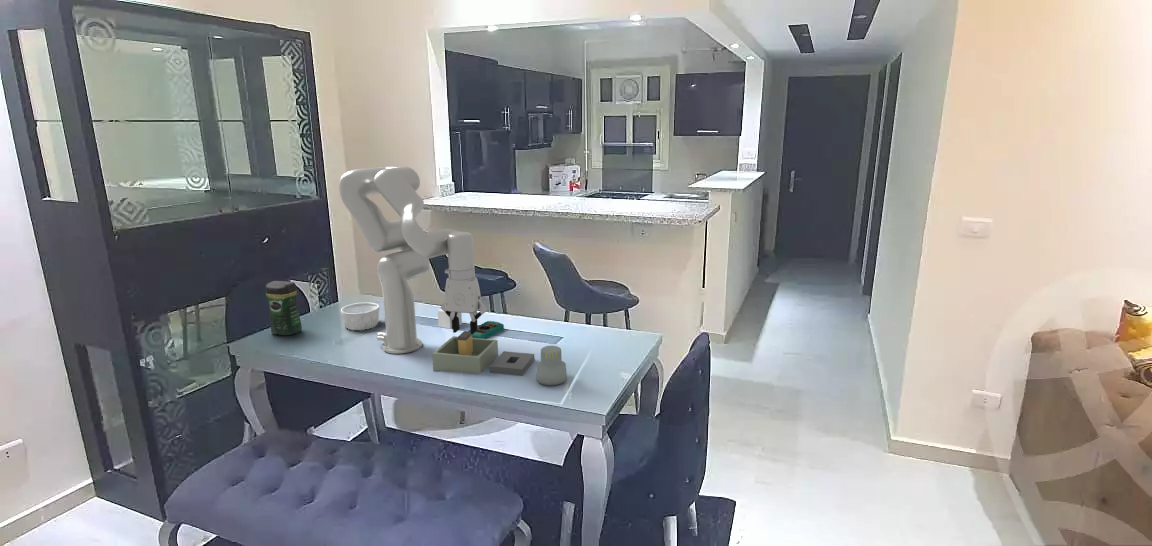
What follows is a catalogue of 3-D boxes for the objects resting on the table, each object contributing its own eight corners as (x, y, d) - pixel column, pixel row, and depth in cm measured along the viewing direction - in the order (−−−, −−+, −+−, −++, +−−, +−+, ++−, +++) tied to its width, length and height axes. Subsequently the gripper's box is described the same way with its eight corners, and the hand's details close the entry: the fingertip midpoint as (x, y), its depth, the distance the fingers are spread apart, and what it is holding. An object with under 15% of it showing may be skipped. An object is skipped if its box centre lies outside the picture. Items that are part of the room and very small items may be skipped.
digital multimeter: (505, 330, 218) (505, 322, 217) (481, 343, 205) (480, 335, 204) (488, 327, 221) (487, 319, 220) (463, 340, 208) (463, 332, 207)
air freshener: (567, 389, 169) (566, 355, 167) (537, 390, 169) (536, 356, 166) (564, 373, 180) (564, 341, 177) (536, 374, 179) (536, 342, 177)
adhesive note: (438, 325, 221) (437, 310, 220) (450, 321, 226) (449, 306, 224) (450, 329, 218) (449, 313, 216) (462, 324, 223) (461, 308, 221)
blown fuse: (459, 364, 185) (457, 336, 183) (465, 358, 190) (464, 330, 187) (467, 365, 185) (465, 337, 182) (473, 358, 189) (471, 331, 187)
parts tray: (433, 370, 182) (432, 353, 180) (454, 352, 196) (453, 336, 195) (480, 375, 179) (479, 357, 177) (498, 356, 193) (497, 339, 191)
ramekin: (373, 332, 215) (371, 313, 213) (336, 332, 215) (334, 313, 213) (385, 320, 227) (384, 302, 226) (350, 320, 228) (348, 302, 226)
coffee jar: (306, 329, 217) (300, 279, 213) (290, 337, 210) (284, 285, 205) (283, 327, 220) (276, 277, 215) (267, 334, 212) (260, 283, 208)
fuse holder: (490, 374, 179) (489, 366, 179) (503, 358, 191) (503, 351, 190) (522, 377, 177) (522, 369, 177) (534, 361, 189) (534, 353, 188)
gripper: (429, 275, 179) (433, 334, 183) (484, 278, 175) (486, 338, 179) (440, 269, 186) (444, 325, 190) (493, 272, 182) (495, 330, 186)
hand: (464, 331), depth 185 cm, fingers open, 4 cm apart
